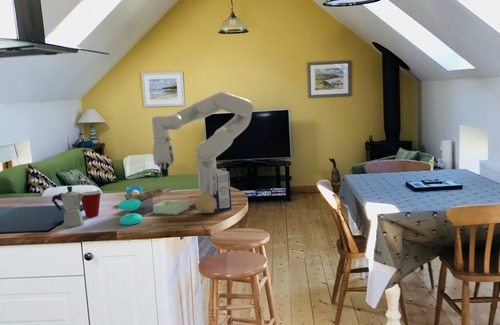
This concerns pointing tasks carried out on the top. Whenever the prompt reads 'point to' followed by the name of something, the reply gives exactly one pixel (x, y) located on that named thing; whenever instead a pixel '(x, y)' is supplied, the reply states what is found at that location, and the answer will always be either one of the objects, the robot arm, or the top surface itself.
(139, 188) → the mug
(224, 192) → the milk carton
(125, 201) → the donuts
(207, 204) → the yellow rounded lump
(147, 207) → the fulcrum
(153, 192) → the chute
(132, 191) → the ball
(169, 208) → the tray
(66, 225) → the coffee maker
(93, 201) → the plastic cup
